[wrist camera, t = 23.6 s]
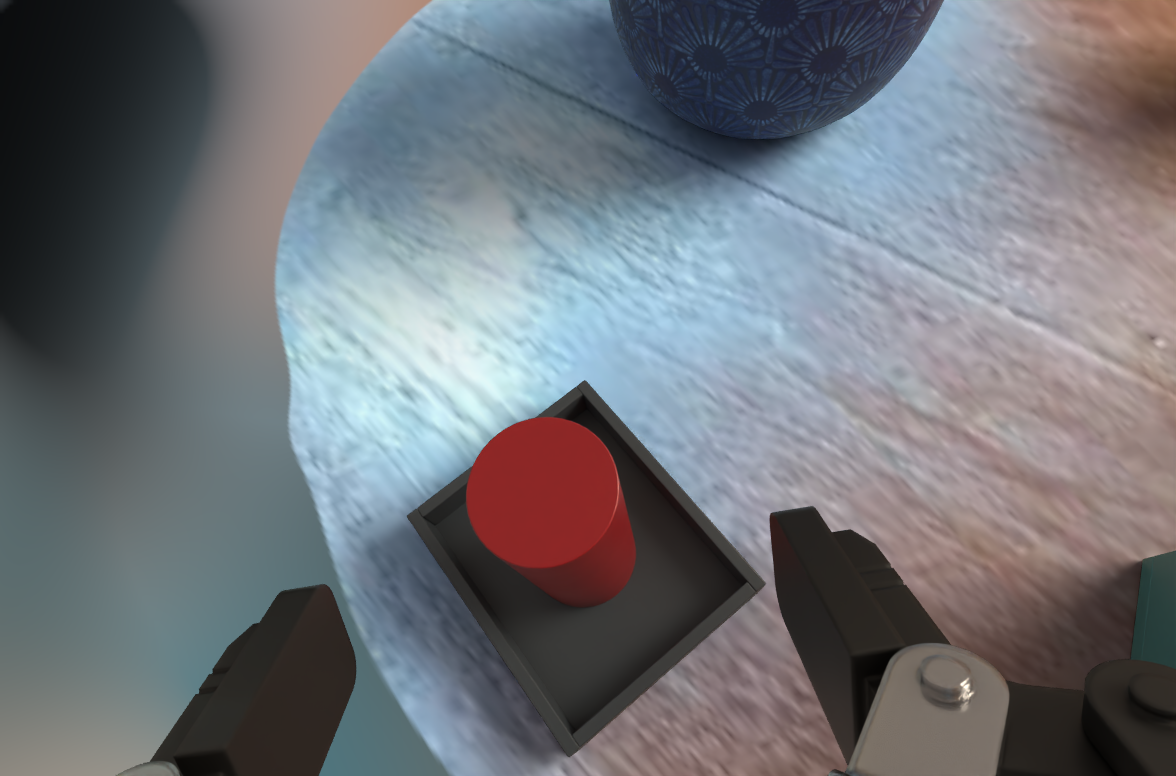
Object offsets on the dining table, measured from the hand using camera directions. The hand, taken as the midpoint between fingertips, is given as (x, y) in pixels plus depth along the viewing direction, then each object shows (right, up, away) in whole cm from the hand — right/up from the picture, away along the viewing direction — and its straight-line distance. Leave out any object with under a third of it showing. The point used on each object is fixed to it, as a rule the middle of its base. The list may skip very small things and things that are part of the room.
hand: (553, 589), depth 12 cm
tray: (0, -5, +22) cm, 22 cm away
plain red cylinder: (0, -5, +21) cm, 22 cm away
